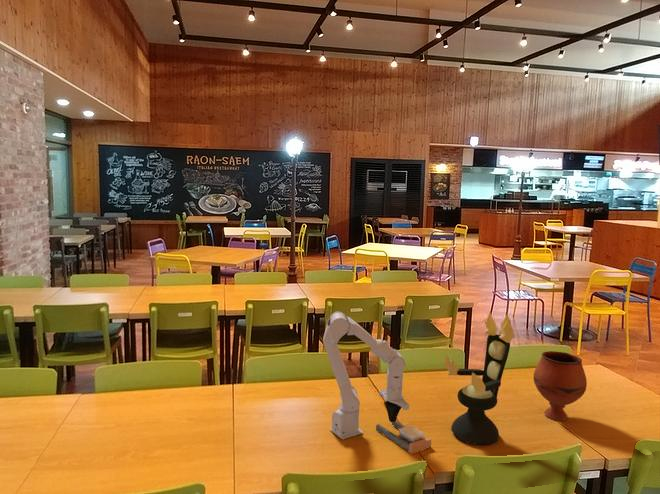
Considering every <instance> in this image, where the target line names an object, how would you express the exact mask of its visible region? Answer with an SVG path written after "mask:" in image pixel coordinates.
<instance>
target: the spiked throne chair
mask: <svg viewBox="0 0 660 494" xmlns="http://www.w3.org/2000/svg"><path fill="white" fill-rule="evenodd" d="M492 315H493V314H492V313H491V312H489V313H488V315H487V317H486V319H485V322H484V325H485V330H484V333H485V334H487V335H488V336H487V338H486V345H485V357H484V363H483V364H484V366H483V369H479V368H477V369H476V368H458V366H457V364H456V363H455V362H454V360H452V359H450V358H449V357H448V356H446V355H445V356H444V357H445V358H444V368H445V369H447V373H446V375H447V376H466V377H467V376H470V377H471V382H470V383H471V384H468V385H466V386H463V387H462V388H461V389H459V390H458V392H457V395H456V396H457V400H458V402H459V403H460V404H461V405H463V406H464V407H466V408H468V409H467V410H466V412H465V413H463V414H461V415H459V416H458V417H457V418H455V420H454V421H453V422H452V424H451V427H450V430H451V432H452V434H453V435H454V436H455V437H456V436H457V437H456V438H457V439H459V440H460V439H461V441H463V442H464V441H466V443H468V442H469V443H468V444H471V443H473V444H472V445H477V444H478V446H486V445H491V444H493V443H495V442H496V441H497V440H498V439H499V437H500V434H499V433H500V432H499V429H498V428H497V425H496V424H495V423H494V422H493V421H492V420H491V419H490V418H489V417H488V416H487V415H486V411H489V410H492V409H494V408H495V407H496V406H497V404H498V393H499V389H500V387H501V385H502V377H503V374H504V371H505V366H506V364H507V360H508V358H509V353H510V348H511V342H512V340H513V339H514V338H515V334H514V329H513V325H512V321H511V318H510V317H509V314H508V313H506V315H505V317H504V318H503V319H502V321H501V323H500V330H499V329H498V326H497V324H496V321H495V320H494V318H493V316H492ZM498 330H499V333H498V334H497V332H498ZM481 376H482V377H481Z"/></svg>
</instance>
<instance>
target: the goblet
mask: <svg viewBox="0 0 660 494" xmlns="http://www.w3.org/2000/svg"><path fill="white" fill-rule="evenodd" d="M582 362H583V360H582V358H580V357H578V356H576V355H573V354H570V353H568V352H563V351H553V350H551V351H544V352H542V353H541V357H540V360H539V362H538V363H537V365H536V367H535V369H534V371H533V383H534V384H535V388H536V389H537V391H538V392H539V393H540V395H541V396H542V397H543V398H544V399H545V400H546V401H548V403H549V405H550V407H548V408H546V409H545V410H544V412H543V414H545V415H544V416H545V417H546V416H547V417H546V418H547V419H550V418H551V419H550V420H552V419H553V421H556V420H557V421H558V422H565V421H568V419H567V418H568V414H567V413H566V411H564V408H565V407H566V406H568V405H571V404H573V403H575V402H576V401H578V400H580V399H581V398H582V397H583V395H584V394H585V393H586V390H587V387H588V386H587V384H588V382H587V375H586V372H585V369H584V367H583V363H582Z"/></svg>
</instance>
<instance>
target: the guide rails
mask: <svg viewBox="0 0 660 494" xmlns="http://www.w3.org/2000/svg"><path fill="white" fill-rule="evenodd" d="M392 425H394V426H395V427H397V428H399V429H400V428H403V427H406V425H404V424H402V423H401V422H400V421H398V420H396V421H395V422H391V426H392ZM394 426H393V427H394ZM395 427H394V428H395ZM397 428H396V429H397ZM399 429H398V430H399ZM377 430H378V431H379V432H378V431H377ZM375 431H377V432H378V433H380V432H381V433H382V434H381V433H380V434H381V435H383V434H384V435H385V436H384V435H383V436H384V437H386V436H387V437H388V438H387V437H386V438H387V439H389V438H390V439H391V440H390V439H389V440H390V441H392V440H393V441H394V442H393V441H392V442H393V443H395V442H396V443H397V444H396V443H395V444H396V445H398V444H399V445H400V446H399V445H398V446H399V447H401V446H402V447H403V448H402V447H401V448H402V449H404V448H405V449H406V450H408V451H409V452H410V453H409V452H408V451H407V452H408V453H409V454H411V453H414V454H416V453H415V452H417V451H419V452H421V451H420V450H422V449H425V448H428V447H430V446H431V447H432V438H430V437H426V438H425V437H424V439H422V440H419V441H416V442H413V443H410V444H409V443H407V442H405V441H404V440H402V439H401V438H399V435H396V434H394V433H393V432H392V431H390V429H387V428H385V427H384V426H382V425H381V424H380V423H379V424H376V426H375ZM405 449H404V450H405ZM428 449H429V448H428ZM406 450H405V451H406ZM425 450H426V449H425ZM422 451H423V450H422ZM417 453H418V452H417Z"/></svg>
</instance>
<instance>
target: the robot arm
mask: <svg viewBox="0 0 660 494" xmlns="http://www.w3.org/2000/svg"><path fill="white" fill-rule="evenodd" d="M345 335H347V336H356V338H358V339H360V340H361V341H363V343H365V344H366V345H368V346H369V347H370V352H371V353H372V354H373V355H375V356H376V357H377V358H378V359H380V360H381V361H382V362H383V363H384V364H387V365H388V366H387V373H386V387H385V388H386V390H385V389H381V390H379V391H378V392H379V393H378V397H379V396H380V397H383V398H384V399H385V401H384V402H383V405H384V407H385V409H386V411H387V416H388V421H389V423H392V422H395V421H397V418H398V415H399V413H400V410H401V409H402V410H403V411H408V410H410V404H409V403H408V402H407V401H406V400H405V399H404V395H403V385H404V384H403V382H404V369H405V368H406V361H405V359H404V357H403V356H402V354H401V353H400V352H399V351H398V350H397V349H396V348H393V347H391V346H390V345H389V344H388V341H387V340H383V339H379V338H378V339H376V338H375V337H374V336H373V335H371V334H370V332H368V331H367V330H366V329H364V328H363V327H362V326H361V325H360V324H359V323H357V322H356V321H355V320H353V318H351V317H350V316H347V315H346V314H345V313H344V312H341V311H334V312H333V313H332V314H331V315H330V317H329V318H328V319H327V321H326V325H325V331H324V334H323V337H322V343H323V346H324V349H325V352H326V354H327V358H328V359H329V363H330V366H331V369H332V372H333V374H334V377H335V379H336V383H337V386H338V388H339V389H338V390H339V392H340V393H339V396H340V400H341V402H340V405H339V407H338V409H336V410H335V411H333V412H332V415H331V428H330V432H332V433H333V434H335V435H336V437H338V438H340V439H341V440H345V439H349V438H351V437H356V436H359V435H362V434H364V431H363V430H361V429H360V428H359V426H360V425H359V422H360V421H359V420H360V404H361V401H360V399H359V395H358V392H357V389H356V388H355V387H354V386H353V385H352V382H351V380H350V377H349V374H348V371H347V368H346V365H345V364H344V360H343V357H342V354H341V351H340V348H339V346H338V343H339V341H340V339H341V338H342V337H343V336H345Z"/></svg>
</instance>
